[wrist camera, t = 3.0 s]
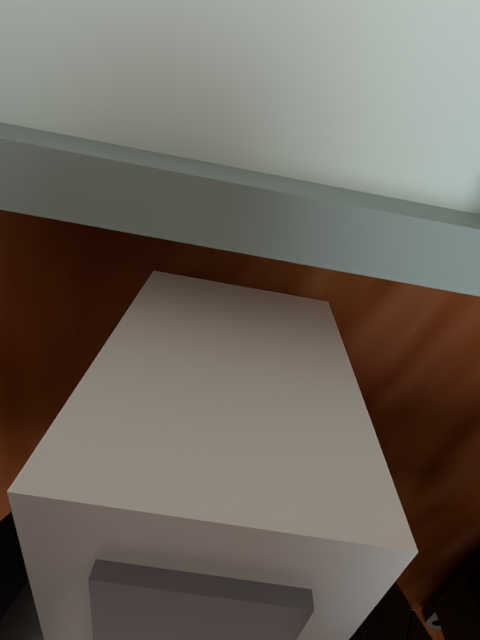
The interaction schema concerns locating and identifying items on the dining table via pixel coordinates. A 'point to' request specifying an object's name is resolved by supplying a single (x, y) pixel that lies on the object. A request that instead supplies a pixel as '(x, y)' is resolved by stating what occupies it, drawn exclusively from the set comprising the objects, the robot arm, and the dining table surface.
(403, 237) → the keyhole tray
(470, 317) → the dining table surface
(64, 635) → the socket block
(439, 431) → the dining table surface
